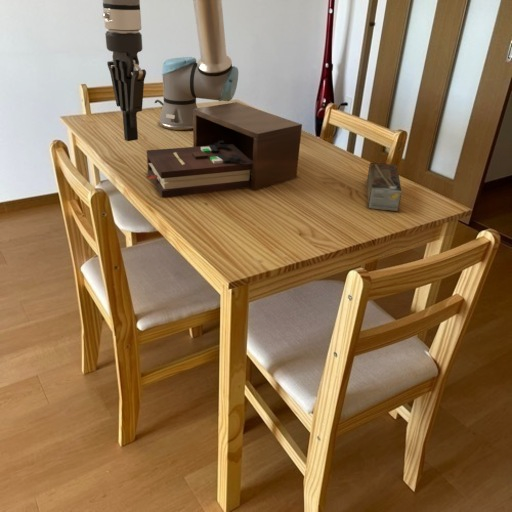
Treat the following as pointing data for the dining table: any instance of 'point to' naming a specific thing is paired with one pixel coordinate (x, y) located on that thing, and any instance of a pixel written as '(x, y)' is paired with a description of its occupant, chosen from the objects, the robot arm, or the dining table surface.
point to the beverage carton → (383, 186)
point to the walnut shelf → (252, 139)
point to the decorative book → (198, 169)
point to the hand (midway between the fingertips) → (131, 139)
